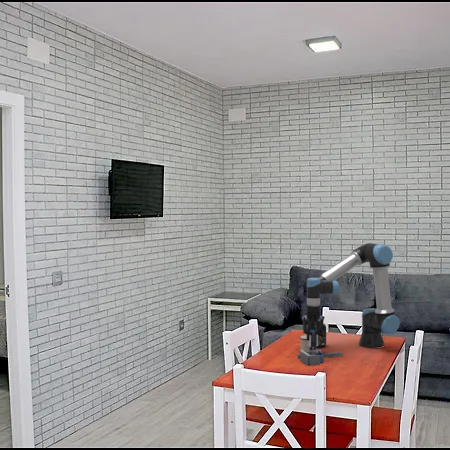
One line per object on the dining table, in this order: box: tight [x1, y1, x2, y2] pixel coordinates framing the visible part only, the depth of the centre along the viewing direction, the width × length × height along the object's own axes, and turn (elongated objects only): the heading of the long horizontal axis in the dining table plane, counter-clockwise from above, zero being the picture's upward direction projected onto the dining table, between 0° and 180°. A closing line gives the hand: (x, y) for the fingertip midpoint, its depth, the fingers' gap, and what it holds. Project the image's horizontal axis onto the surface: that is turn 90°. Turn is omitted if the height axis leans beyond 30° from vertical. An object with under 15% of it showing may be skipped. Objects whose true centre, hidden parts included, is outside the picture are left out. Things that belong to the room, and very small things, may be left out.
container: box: [307, 318, 327, 349], centre depth 373 cm, size 12×12×17 cm
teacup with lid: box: [299, 334, 310, 351], centre depth 358 cm, size 12×9×12 cm
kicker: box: [307, 331, 325, 364], centre depth 339 cm, size 6×14×14 cm, turn 15°
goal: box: [299, 350, 321, 366], centre depth 333 cm, size 7×11×6 cm, turn 15°
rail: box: [296, 351, 343, 360], centre depth 345 cm, size 27×2×2 cm, turn 105°
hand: (312, 346), depth 344 cm, fingers closed on kicker, 4 cm apart
